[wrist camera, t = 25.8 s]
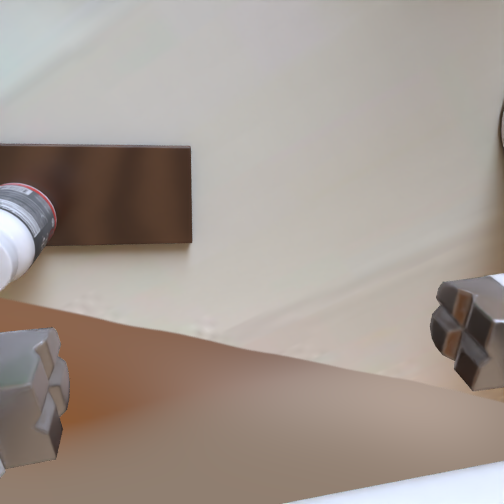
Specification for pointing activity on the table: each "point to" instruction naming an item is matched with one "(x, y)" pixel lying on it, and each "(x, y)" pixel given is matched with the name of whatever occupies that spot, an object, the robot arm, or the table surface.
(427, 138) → the table surface
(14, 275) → the pill bottle
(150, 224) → the walnut board
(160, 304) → the table surface
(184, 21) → the table surface
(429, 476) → the robot arm
